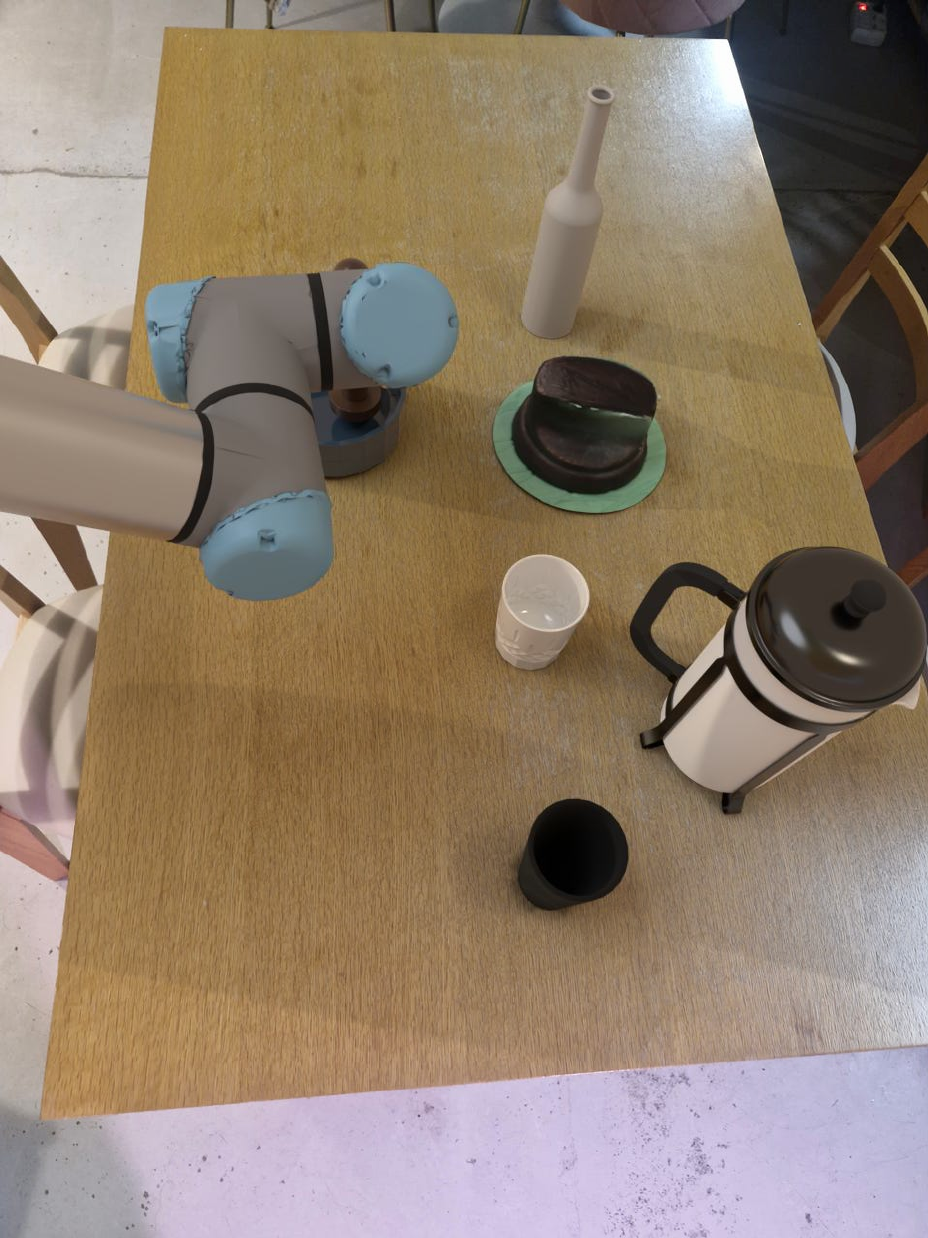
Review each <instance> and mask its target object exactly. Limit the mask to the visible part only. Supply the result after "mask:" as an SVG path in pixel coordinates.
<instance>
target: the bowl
mask: <svg viewBox="0 0 928 1238" xmlns="http://www.w3.org/2000/svg"><path fill="white" fill-rule="evenodd" d="M380 388H381V407H380V410H379V411H378V413H377V414H376V415H375V416H374V417H372V418H371V419H369V420H366V421H362V422H350V421H346V420H343V419H341V418H339V417H338V416H337V415H335V414H334V412H333V411H332V409H331V407H330V404H329V391H322V392H314V393H310V394H311V400H312V406H313V413H314V420H315V425H316V435H317V440H318V446H319V451H320V456H321V462H322V467H323V472H324V477H333V478H334V477H336V478H337V477H346V476H350V475H355V474H358V473H359V474H360V473H362V472H366V471H368V470H369V469H371V468H373V467H374V466H376V465H379V464H380V463H382V462H383V461H385V460H386V459H387V458H388V457H389V456H390V454H391V453H392V452H393V451H394V450H395V449H396V448H397V447H398V445H399V443H400V441H401V438H402V436H403V433H404V431H405V427H406V413H407V412H406V410H407V387H406V388H383V387H382V386H380Z"/></svg>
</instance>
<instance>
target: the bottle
mask: <svg viewBox="0 0 928 1238" xmlns="http://www.w3.org/2000/svg"><path fill="white" fill-rule="evenodd" d="M586 95H587V99H586V103H585V106H584V112H583V116H582V120H581V125H580V129H579V133H578V137H577V142H576V146H575V149H574V153H573V157H572V160H571V163H570V167H569V170H568V173H567V177H566V179H565V180H564V181H562V182H560V183H558V184H557V185H555V186H554V187H553V188H552V189H551V190H550V191H549V192H548V193H547V195H546V198H545V200H544V205H543V210H542V213H541V219H540V223H539V228H538V232H537V237H536V242H535V247H534V250H533V251H534V252H533V256H532V261H531V265H530V270H529V273H528V279H527V283H526V289H525V293H524V297H523V304H522V308H521V312H520V319H521V322H522V325H523V326H524V328H525V329H526V330H527V331H528V332H529V333H531V334H532V335H534V336H537V337H538V338H542V339H546V340H547V339H548V340H552V339H553V340H557V339H560V338H563V337H565V336H566V335H568V334H569V333H570V332H571V331H572V329H573V327H574V323H575V320H576V316H577V313H578V310H579V306H580V303H581V298H582V295H583V291H584V287H585V284H586V281H587V276H588V272H589V267H590V264H591V261H592V257H593V254H594V250H595V245H596V242H597V238H598V235H599V230H600V227H601V223H602V218H603V216H604V203H603V200H602V197H601V196H600V194H599V193H598V191H597V189H596V188H595V187H596V186H595V180H596V176H597V170H598V166H599V165H598V164H599V159H600V155H601V150H602V146H603V141H604V138H605V133H606V129H607V125H608V121H609V117H610V114H611V109H612V105H613V104H614V103H615V101H616V98H617V96H616V95H617V94H616V92H615V91H614V90H613V89H612V88H611V87H609V86H608V85H603V84H595V85H592V86H590V87H589V88H588V89H587V92H586Z"/></svg>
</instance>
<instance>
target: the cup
mask: <svg viewBox="0 0 928 1238" xmlns="http://www.w3.org/2000/svg"><path fill="white" fill-rule="evenodd" d="M629 855H630V853H629V844H628V840H627V836H626V833H625V831H624V829H623V828H622V826H621V824H620V822H619V821H618V820H617V819H616V817H615V816H614V815H613V814H612V813H611V812H610V811H609V810H607V808H605V807H604V806H602V805H600V804H598V803H596V802H594V801H592V800H588V799H583V798H580V797H576V798H575V797H574V798H564V799H561V800H557V801H555V802H553V803H551V804H549V805H548V806H546V807H545V808H544V809H543V810H542V811H541V812H540V813H539V814H538V815H537V816H536V818H535V819H534V821H533V823H532V825H531V827H530V831H529V834H528V836H527V839H526V843H525V846H524V850H523V852H522V855H521V859H520V862H519V866H518V870H517V882H518V886H519V889H520V892H521V894H522V895H523V896H524V898H525V899H526V900H527V902H528V903H530V904H531V905H532V906H533V907H536V908H537V909H540V910H543V911H549V912H550V911H553V912H554V911H559V910H563V909H568V908H571V907H575V906H578V905H579V906H580V905H583V904H587V903H590V902H594V901H596V900H601V899H602V898H605V897H606V896H608V895H609V894H611V893H612V892H614V890H615V889H616V888H617V887H618V886H619V885H620V883H621V882H622V881H623V878H624V876H625V874H626V872H627V870H628V864H629V860H630V859H629V858H630V857H629Z"/></svg>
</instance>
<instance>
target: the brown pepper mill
mask: <svg viewBox="0 0 928 1238" xmlns="http://www.w3.org/2000/svg"><path fill="white" fill-rule="evenodd" d="M355 269H369V267H368V265H367V264H366V263H365V262H364V261H362V260H361V259H359V258H355V257H347V258H343V259H341V260H340V261H338V262H337V263H336V265H334V268H333V270H332V271H338V270H355ZM329 404H330V407H331V409H332V411H333V412H334V414H335V415H337V416H338V417H339V418H341V419H343V420H346V421H350V422H362V421H366V420H369V419H371V418H372V417H374V416H375V415H376V414H377V413H378V411H379V410H380V407H381V388H380V386H374V387H362V388H351V389H339V390H332V391H329Z"/></svg>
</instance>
